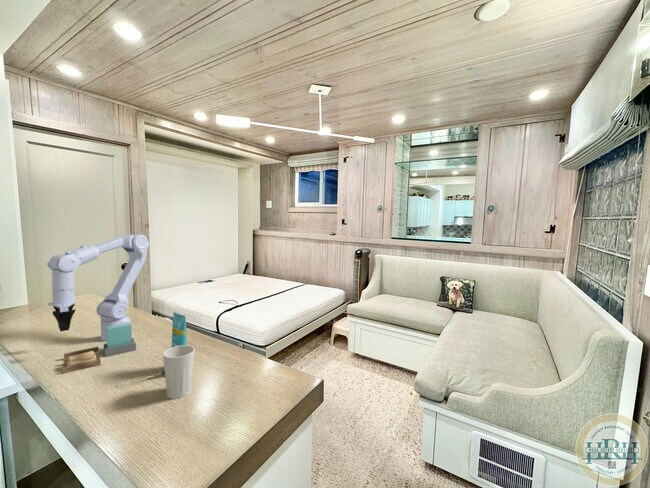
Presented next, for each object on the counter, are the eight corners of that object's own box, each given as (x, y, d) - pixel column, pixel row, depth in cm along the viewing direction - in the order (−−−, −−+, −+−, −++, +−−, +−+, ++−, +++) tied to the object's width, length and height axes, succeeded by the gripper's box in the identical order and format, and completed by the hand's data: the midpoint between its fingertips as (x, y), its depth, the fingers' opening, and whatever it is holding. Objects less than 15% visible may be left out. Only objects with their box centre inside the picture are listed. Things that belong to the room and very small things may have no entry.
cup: (187, 381, 85) (187, 342, 85) (199, 391, 80) (199, 350, 80) (158, 392, 79) (158, 351, 79) (170, 404, 74) (170, 360, 74)
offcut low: (95, 360, 94) (95, 354, 94) (96, 364, 92) (96, 358, 92) (67, 366, 90) (67, 361, 90) (67, 371, 87) (67, 365, 87)
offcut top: (92, 355, 94) (92, 350, 94) (95, 358, 92) (94, 353, 92) (68, 361, 89) (68, 356, 89) (70, 364, 87) (70, 359, 87)
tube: (165, 371, 91) (165, 313, 89) (179, 365, 95) (179, 309, 94) (179, 378, 87) (179, 317, 86) (193, 371, 91) (193, 313, 90)
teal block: (130, 346, 105) (130, 323, 105) (131, 348, 103) (131, 325, 103) (107, 351, 101) (106, 327, 100) (107, 354, 99) (107, 329, 98)
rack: (98, 353, 101) (98, 345, 101) (100, 367, 92) (100, 358, 91) (64, 360, 95) (64, 352, 95) (63, 376, 86) (62, 367, 85)
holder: (133, 346, 108) (133, 337, 108) (136, 352, 103) (136, 343, 102) (103, 352, 102) (103, 343, 102) (105, 360, 97) (105, 350, 96)
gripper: (48, 286, 99) (49, 324, 100) (46, 294, 89) (47, 336, 90) (74, 284, 104) (75, 320, 105) (76, 291, 94) (76, 331, 94)
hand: (64, 327), depth 98 cm, fingers open, 7 cm apart
